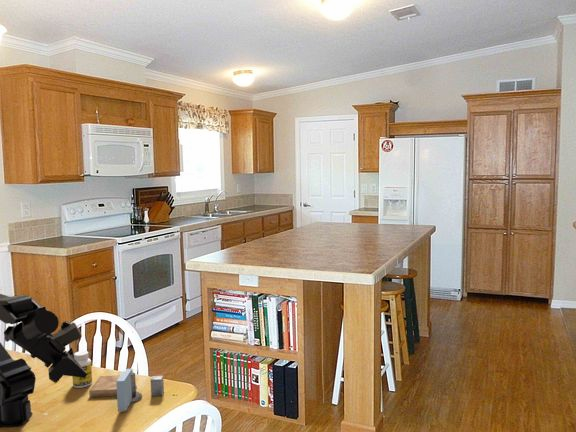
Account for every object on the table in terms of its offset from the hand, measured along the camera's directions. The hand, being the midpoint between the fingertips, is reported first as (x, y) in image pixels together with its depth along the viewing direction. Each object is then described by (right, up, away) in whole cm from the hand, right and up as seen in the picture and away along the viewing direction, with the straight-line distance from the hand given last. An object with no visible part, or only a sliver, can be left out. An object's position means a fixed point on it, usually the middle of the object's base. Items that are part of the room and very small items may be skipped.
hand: (86, 375), depth 130 cm
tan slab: (+4, -9, +15) cm, 18 cm away
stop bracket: (+15, -9, +13) cm, 22 cm away
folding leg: (+9, -9, +6) cm, 14 cm away
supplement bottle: (-9, -9, +21) cm, 25 cm away
